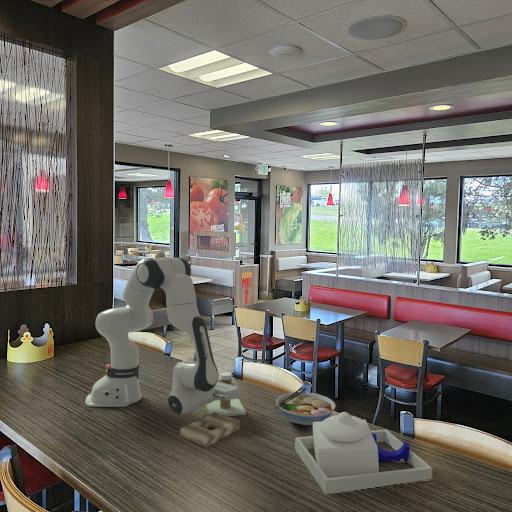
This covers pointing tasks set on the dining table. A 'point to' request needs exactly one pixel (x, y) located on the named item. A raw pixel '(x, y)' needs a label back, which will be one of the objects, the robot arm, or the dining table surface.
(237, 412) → the pad
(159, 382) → the dining table surface
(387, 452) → the cable clip
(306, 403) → the ramen bowl
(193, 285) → the robot arm
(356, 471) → the white block with dome
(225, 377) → the sprinkles bottle
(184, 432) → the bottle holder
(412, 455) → the grey rectangular tray
